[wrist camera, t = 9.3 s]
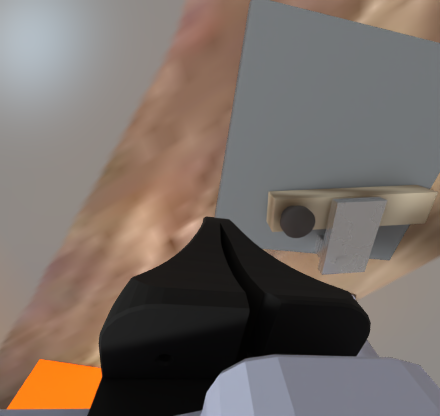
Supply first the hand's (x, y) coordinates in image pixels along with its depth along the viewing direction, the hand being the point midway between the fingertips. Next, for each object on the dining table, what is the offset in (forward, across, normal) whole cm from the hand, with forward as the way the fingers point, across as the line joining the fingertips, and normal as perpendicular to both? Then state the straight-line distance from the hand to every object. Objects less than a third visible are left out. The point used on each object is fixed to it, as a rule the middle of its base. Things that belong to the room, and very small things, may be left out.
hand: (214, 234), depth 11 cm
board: (+9, -11, -4) cm, 15 cm away
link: (+8, -12, 0) cm, 15 cm away
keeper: (+8, -12, +2) cm, 15 cm away
